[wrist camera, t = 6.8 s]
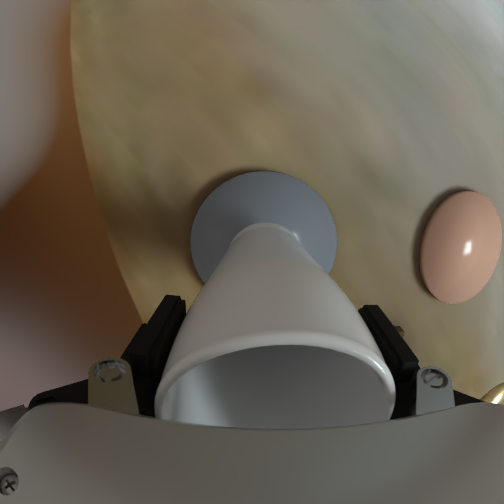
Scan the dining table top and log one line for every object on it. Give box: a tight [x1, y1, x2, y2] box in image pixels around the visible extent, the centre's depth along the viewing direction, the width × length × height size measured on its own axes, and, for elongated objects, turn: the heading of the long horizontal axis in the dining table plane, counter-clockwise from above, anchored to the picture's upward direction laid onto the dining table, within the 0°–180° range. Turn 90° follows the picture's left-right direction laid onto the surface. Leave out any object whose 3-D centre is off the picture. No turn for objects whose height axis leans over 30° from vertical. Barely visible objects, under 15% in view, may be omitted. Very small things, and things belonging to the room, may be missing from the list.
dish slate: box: [190, 171, 337, 284], centre depth 24 cm, size 12×12×1 cm
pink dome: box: [419, 191, 502, 304], centre depth 23 cm, size 12×12×1 cm
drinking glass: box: [154, 222, 396, 429], centre depth 14 cm, size 7×7×15 cm
